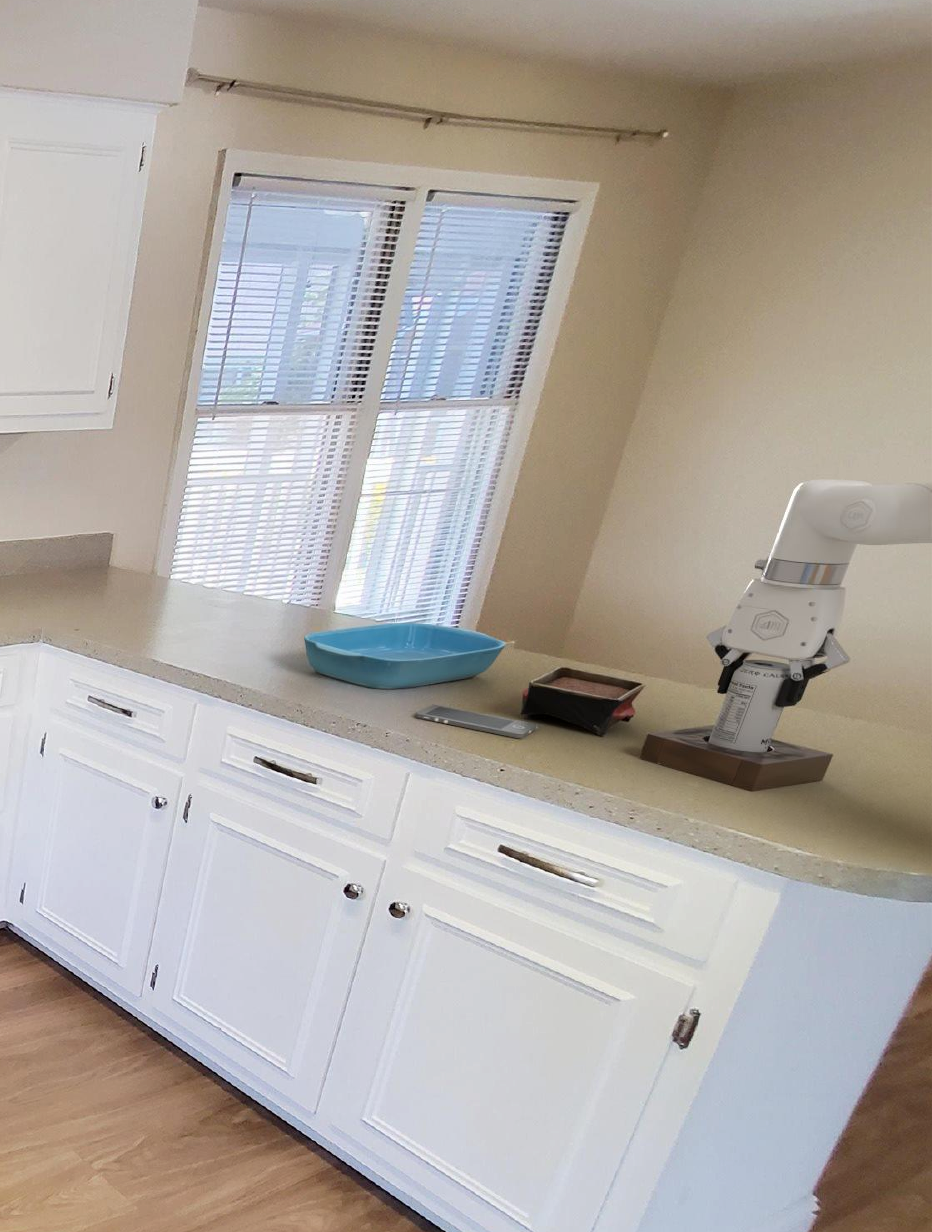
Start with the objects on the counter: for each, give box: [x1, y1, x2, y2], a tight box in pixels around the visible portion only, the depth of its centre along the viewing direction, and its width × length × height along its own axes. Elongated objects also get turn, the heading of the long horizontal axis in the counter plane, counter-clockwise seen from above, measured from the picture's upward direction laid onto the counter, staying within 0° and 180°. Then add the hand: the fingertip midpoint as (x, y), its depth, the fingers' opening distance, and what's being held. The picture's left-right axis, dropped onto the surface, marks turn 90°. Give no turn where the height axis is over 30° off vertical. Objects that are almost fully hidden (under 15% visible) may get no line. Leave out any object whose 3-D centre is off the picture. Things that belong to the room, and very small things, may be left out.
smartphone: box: [414, 704, 539, 739], centre depth 171 cm, size 15×8×1 cm, turn 36°
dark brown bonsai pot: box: [518, 666, 646, 738], centre depth 170 cm, size 14×18×10 cm
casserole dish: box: [303, 622, 507, 690], centre depth 199 cm, size 37×22×7 cm, turn 108°
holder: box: [638, 724, 834, 792], centre depth 149 cm, size 14×14×4 cm
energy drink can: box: [708, 659, 791, 752], centre depth 147 cm, size 6×6×15 cm
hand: (755, 698), depth 146 cm, fingers closed on energy drink can, 6 cm apart
